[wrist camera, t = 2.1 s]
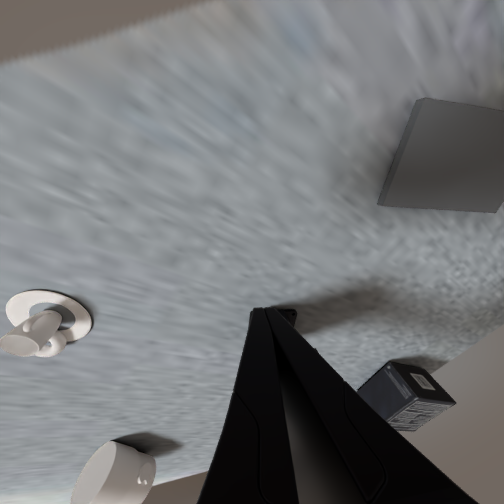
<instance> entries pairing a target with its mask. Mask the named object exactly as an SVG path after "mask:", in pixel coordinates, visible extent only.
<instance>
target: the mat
mask: <svg viewBox="0 0 504 504" xmlns="http://www.w3.org/2000/svg"><path fill="white" fill-rule="evenodd" d="M503 201H504V111H501V110H495V109H489V108H483V107H477V106H471V105H465V104H459V103H453V102H447V101H441V100H435V99H429V98H423V99H419V100H416V103H415V105H414V108H413V111H412V113H411V116H410V119H409V121H408V124H407V126H406V129H405V132H404V134H403V137H402V140H401V142H400V145H399V148H398V150H397V153H396V156H395V158H394V161H393V163H392V166H391V169H390V171H389V174H388V177H387V179H386V182H385V185H384V187H383V190H382V193H381V195H380V198H379V200H378V203H377V204H378V205H381V206H390V207H406V208H423V209H439V210H456V211H472V212H488V213H496V212H497V210H498V209H499V207H500V206H501V204H502V203H503Z"/></svg>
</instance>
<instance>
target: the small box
mask: <svg viewBox="0 0 504 504" xmlns="http://www.w3.org/2000/svg"><path fill="white" fill-rule="evenodd" d="M357 393H358V394H359V395H360V396H361V397H362V398H363V399H364V400H365V401H366V402H367V403H368V404H369V405H370V406H371V407H372V408H373V409H374V410H375V411H376V412H377V413H378V414H379V415H380V416H381V417H382V418H383V419H384V420H386V421H387V422H388V423H389V424H390V425H391V426H392V427H393V428H394V429H395V430H397V431H416V430H417V429H418V428H419V427H421V426H422V425H423V424H425V423H426V422H427V421H430V420H431V419H432V418H434V417H435V416H437V415H438V414H440V413H442V412H443V411H445V410H447V409H448V408H450V407H452V406H453V405H455V404H456V402H455V401H454V400H453V398H451V396H450V395H449V394H448V393H447V392H445V390H444V389H443V388H442V387H441V386H440V385H439V384H438V383H437V382H436V381H435V380H434V379H433V377H432V376H431V375H430V374H429V373H428V372H427V371H426V370H425V369H422V368H417V367H412V366H407V365H402V364H397V363H392V362H389V363H388V364H387V365H385V366H384V367H383V368H382V369H381V370H380V371H379V372H378V373H377V374H376V375H375V376H374V377H372V378H371V379H370V380H369V381H368V382H367V383H366V384H365V385H364V386H362V387H361V388H360V389H359V390H358V391H357Z"/></svg>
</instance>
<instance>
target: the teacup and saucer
mask: <svg viewBox="0 0 504 504" xmlns="http://www.w3.org/2000/svg"><path fill="white" fill-rule="evenodd" d="M41 302H51V303H56V304H59V305H62V306H64V307H66V308H67V309H69V310H70V311H71V312H72V313H73V314H74V316H75V319H76V322H75V324H74V326H73V327H71V328H69V329H67V330H61V331H57V329H58V328H59V326H60V324H61V321H62V316H61V315H60V314H59V313H58V312H56V311H52V310H45V311H42V312H39V313H37V314H35V315H33V316H31V317H30V316H29V309H30V308H31V307H32V306H33V305H34V304H37V303H41ZM6 314H7V316H8V318H9V320H10V321H11V323H12V324H13V325H14V326H15V328H14V329H12V330H11V331H10V332H8V333H7V334H6V335H4V336H3V337H2V338H1V339H0V347H1V348H2V349H3V350H4V351H6V352H8V353H10V354H13V355H16V356H32V355H36V356H39V357H51V356H54V355H57V354H59V353H60V352H61V351H62V350H63V349H64V348H65V346H66V342H70V341H75V340H78V339H80V338H82V337H84V336H85V335H86V334H87V333H88V332H89V331H90V329H91V325H92V321H91V317H90V315H89V313H88V312H87V311H86V309H85V308H84V307H83V306H82V305H80V304H79V303H78V302H76V301H75V300H73V299H71V298H69V297H67V296H64V295H61V294H58V293H55V292H50V291H42V290H33V291H26V292H22V293H19V294H17V295H15V296H13V297H12V298H11V299H10V300H9V301H8V303H7V305H6ZM48 341H49V342H50V343H51V344H52V346H48V345H45V344H46V343H47V342H48Z"/></svg>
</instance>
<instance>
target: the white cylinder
mask: <svg viewBox="0 0 504 504" xmlns="http://www.w3.org/2000/svg"><path fill="white" fill-rule="evenodd" d="M155 474H156V461H155V459H154V457H153V456H151V455H148V454H145V453H141V452H138V451H137V450H136V449H135V448H133V447H130V446H127V445H124V444H121V443H117V442H114V441H109V442H106V443H105V444H103V445H102V446H101V447H100V448H99V449H98V450H97V451H96V452H95V453H94V454H93V455H92V457H91V458H90V459H89V461H88V462H87V463H86V465H85V467H84V468H83V470H82V472H81V473H80V475H79V477H78V479H77V482H76V484H75V486H74V489H73V492H72V496H71V503H70V504H141V503H142V502H143V501H144V499H145V498H146V496H147V494H148V492H149V490H150V489H151V486H152V484H153V481H154V478H155Z"/></svg>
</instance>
